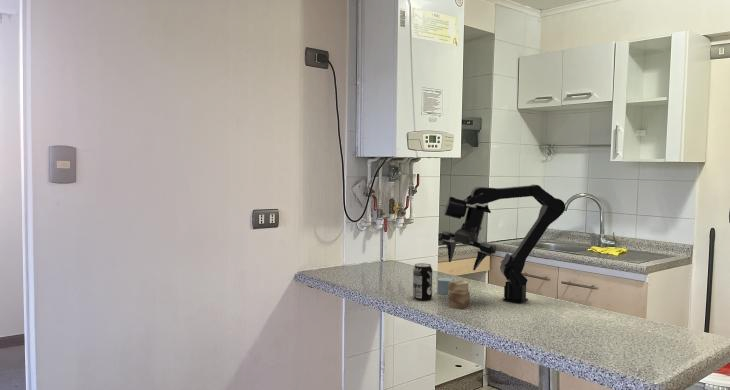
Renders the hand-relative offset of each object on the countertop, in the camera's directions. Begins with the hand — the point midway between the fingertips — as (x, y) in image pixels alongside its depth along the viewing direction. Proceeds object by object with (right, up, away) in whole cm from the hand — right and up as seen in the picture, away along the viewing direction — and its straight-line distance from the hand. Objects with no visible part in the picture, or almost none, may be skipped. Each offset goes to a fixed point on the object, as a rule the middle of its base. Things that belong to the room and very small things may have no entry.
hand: (461, 266), depth 181 cm
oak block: (0, -12, +6) cm, 13 cm away
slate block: (-4, -11, +11) cm, 16 cm away
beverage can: (-13, -12, +2) cm, 18 cm away
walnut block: (-2, -12, -8) cm, 15 cm away
